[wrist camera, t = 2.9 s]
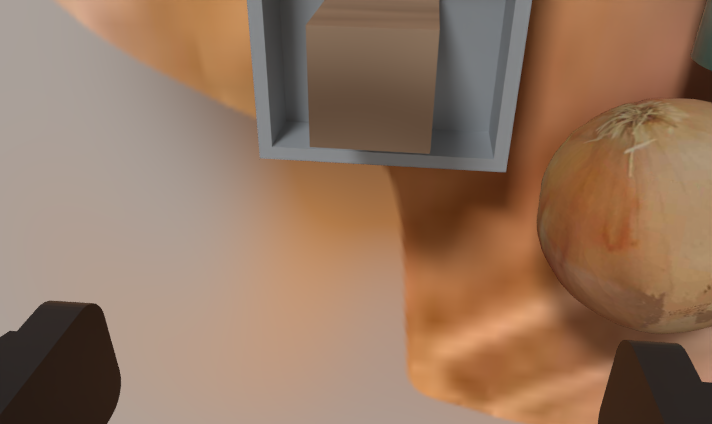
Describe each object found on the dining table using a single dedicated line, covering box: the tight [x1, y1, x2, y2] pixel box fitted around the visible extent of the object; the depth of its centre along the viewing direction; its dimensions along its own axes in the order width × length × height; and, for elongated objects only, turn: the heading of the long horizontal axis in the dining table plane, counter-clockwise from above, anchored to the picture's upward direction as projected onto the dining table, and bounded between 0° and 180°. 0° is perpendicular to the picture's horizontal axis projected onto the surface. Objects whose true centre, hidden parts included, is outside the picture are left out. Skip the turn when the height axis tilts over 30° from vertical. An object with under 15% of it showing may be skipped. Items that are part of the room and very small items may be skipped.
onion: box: [537, 98, 712, 334], centre depth 25 cm, size 10×10×10 cm
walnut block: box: [306, 0, 440, 154], centre depth 23 cm, size 4×4×9 cm
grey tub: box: [247, 0, 532, 172], centre depth 25 cm, size 11×11×4 cm
